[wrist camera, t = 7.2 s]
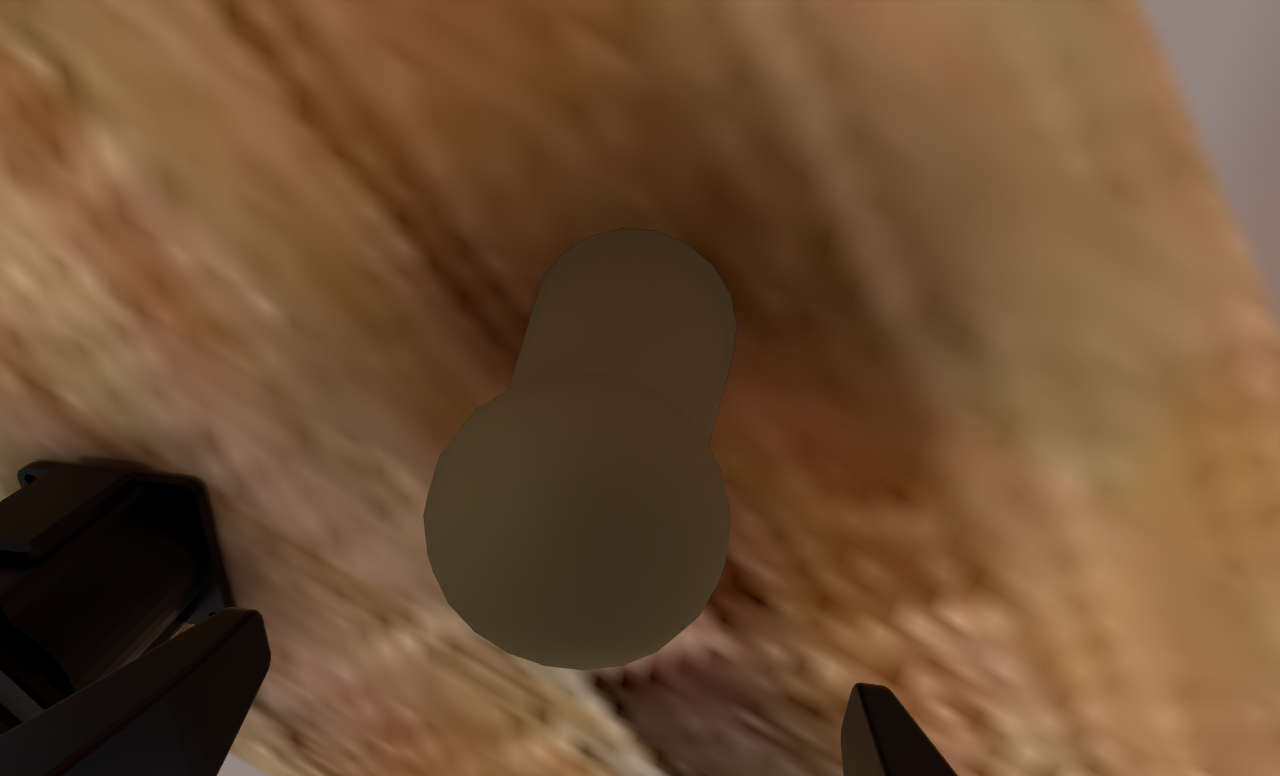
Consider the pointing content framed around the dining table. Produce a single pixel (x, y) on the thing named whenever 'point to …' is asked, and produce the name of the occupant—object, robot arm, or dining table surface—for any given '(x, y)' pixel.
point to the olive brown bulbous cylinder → (594, 463)
